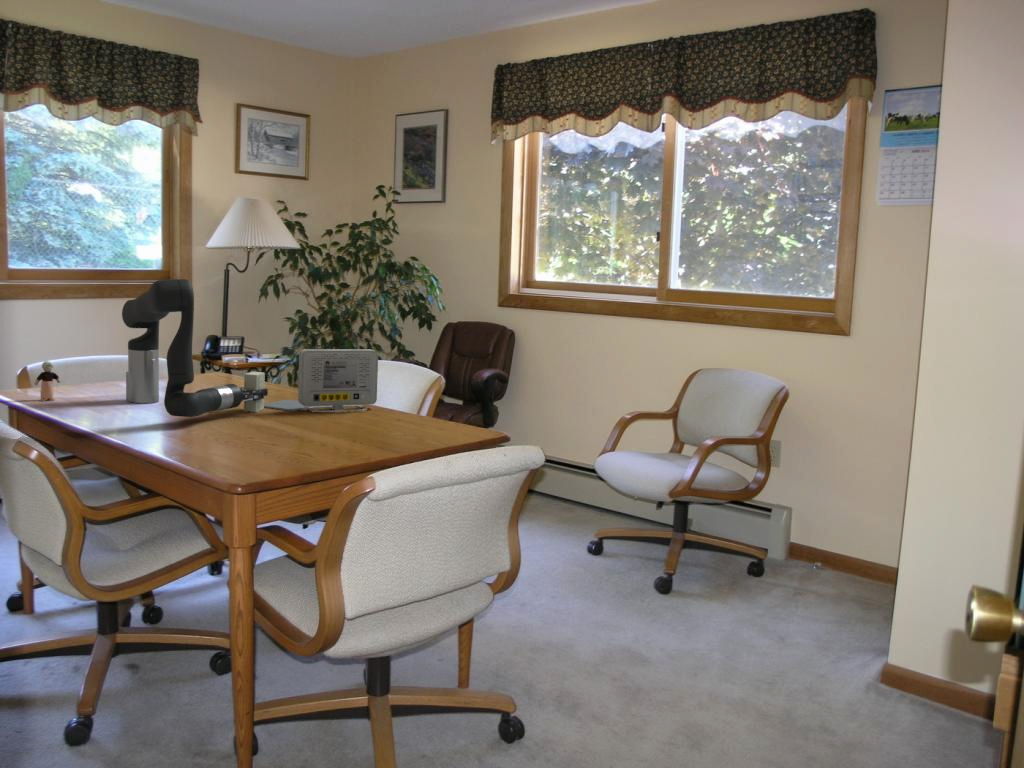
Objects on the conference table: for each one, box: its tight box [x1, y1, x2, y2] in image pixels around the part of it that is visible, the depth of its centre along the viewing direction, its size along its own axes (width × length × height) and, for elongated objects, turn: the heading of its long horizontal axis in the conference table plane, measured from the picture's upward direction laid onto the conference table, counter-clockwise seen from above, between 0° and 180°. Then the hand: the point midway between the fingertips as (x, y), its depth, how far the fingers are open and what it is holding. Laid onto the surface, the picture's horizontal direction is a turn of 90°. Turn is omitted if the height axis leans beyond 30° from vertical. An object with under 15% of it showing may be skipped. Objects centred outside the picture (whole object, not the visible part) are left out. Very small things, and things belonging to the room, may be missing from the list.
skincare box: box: [243, 371, 266, 413], centre depth 282 cm, size 6×4×12 cm
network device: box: [297, 348, 379, 413], centre depth 291 cm, size 26×9×20 cm, turn 117°
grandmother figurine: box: [34, 360, 61, 402], centre depth 281 cm, size 8×4×13 cm, turn 150°
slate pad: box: [264, 399, 314, 413], centre depth 293 cm, size 14×14×1 cm
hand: (259, 390), depth 285 cm, fingers closed on skincare box, 5 cm apart
